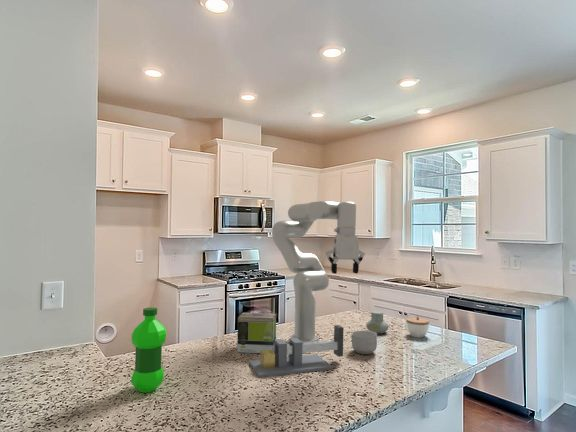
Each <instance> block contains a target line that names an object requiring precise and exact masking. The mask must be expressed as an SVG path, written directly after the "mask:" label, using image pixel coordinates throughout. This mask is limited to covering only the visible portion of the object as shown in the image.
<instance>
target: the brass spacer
mask: <svg viewBox="0 0 576 432" xmlns="http://www.w3.org/2000/svg"><path fill="white" fill-rule="evenodd" d="M259 360H260V364H261V366H262V367H263V368H264V369H268V368H275V353H274V352H273V351H272V350H261V353H260V359H259Z"/></svg>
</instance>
